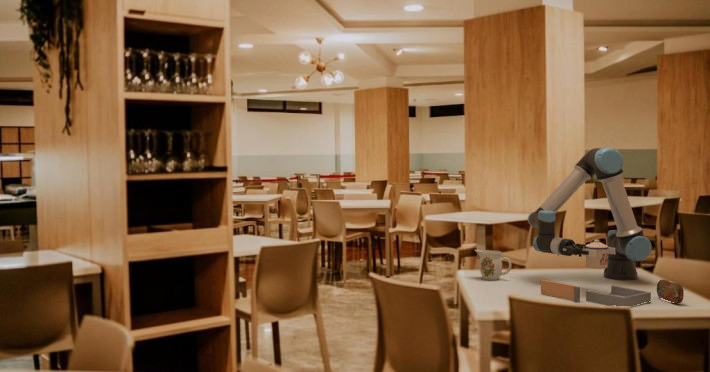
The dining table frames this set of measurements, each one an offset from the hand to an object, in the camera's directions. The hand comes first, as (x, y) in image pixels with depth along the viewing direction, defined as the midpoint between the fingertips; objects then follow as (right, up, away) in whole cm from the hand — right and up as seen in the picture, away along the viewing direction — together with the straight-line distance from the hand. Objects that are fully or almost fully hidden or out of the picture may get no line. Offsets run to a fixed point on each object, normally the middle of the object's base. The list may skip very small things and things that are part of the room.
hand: (605, 252), depth 266 cm
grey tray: (-2, -19, -11) cm, 22 cm away
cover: (-20, -19, -1) cm, 27 cm away
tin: (+21, -19, -12) cm, 31 cm away
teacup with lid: (-2, -7, +4) cm, 8 cm away
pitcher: (-38, -17, +41) cm, 59 cm away
